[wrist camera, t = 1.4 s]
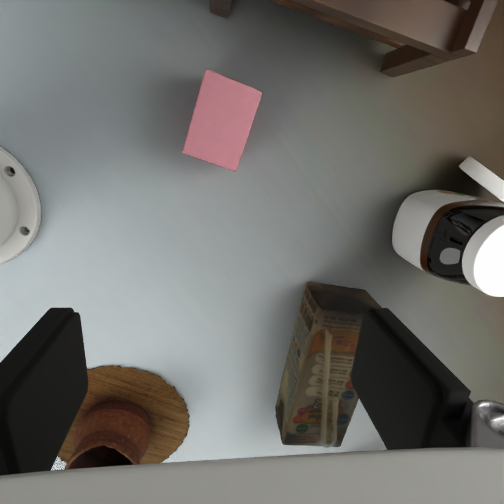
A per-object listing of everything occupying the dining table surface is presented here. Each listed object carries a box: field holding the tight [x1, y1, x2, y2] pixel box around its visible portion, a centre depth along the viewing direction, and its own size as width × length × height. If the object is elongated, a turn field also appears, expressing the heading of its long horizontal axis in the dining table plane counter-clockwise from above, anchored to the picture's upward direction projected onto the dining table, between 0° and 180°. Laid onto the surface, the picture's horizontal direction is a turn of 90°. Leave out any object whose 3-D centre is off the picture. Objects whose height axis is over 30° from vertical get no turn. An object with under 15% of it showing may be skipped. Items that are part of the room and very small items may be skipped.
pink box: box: [182, 69, 262, 171], centre depth 28 cm, size 5×6×6 cm
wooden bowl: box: [58, 365, 189, 470], centre depth 38 cm, size 18×18×7 cm
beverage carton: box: [276, 282, 381, 447], centre depth 38 cm, size 8×19×7 cm, turn 170°
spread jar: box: [392, 156, 504, 297], centre depth 31 cm, size 12×11×12 cm
